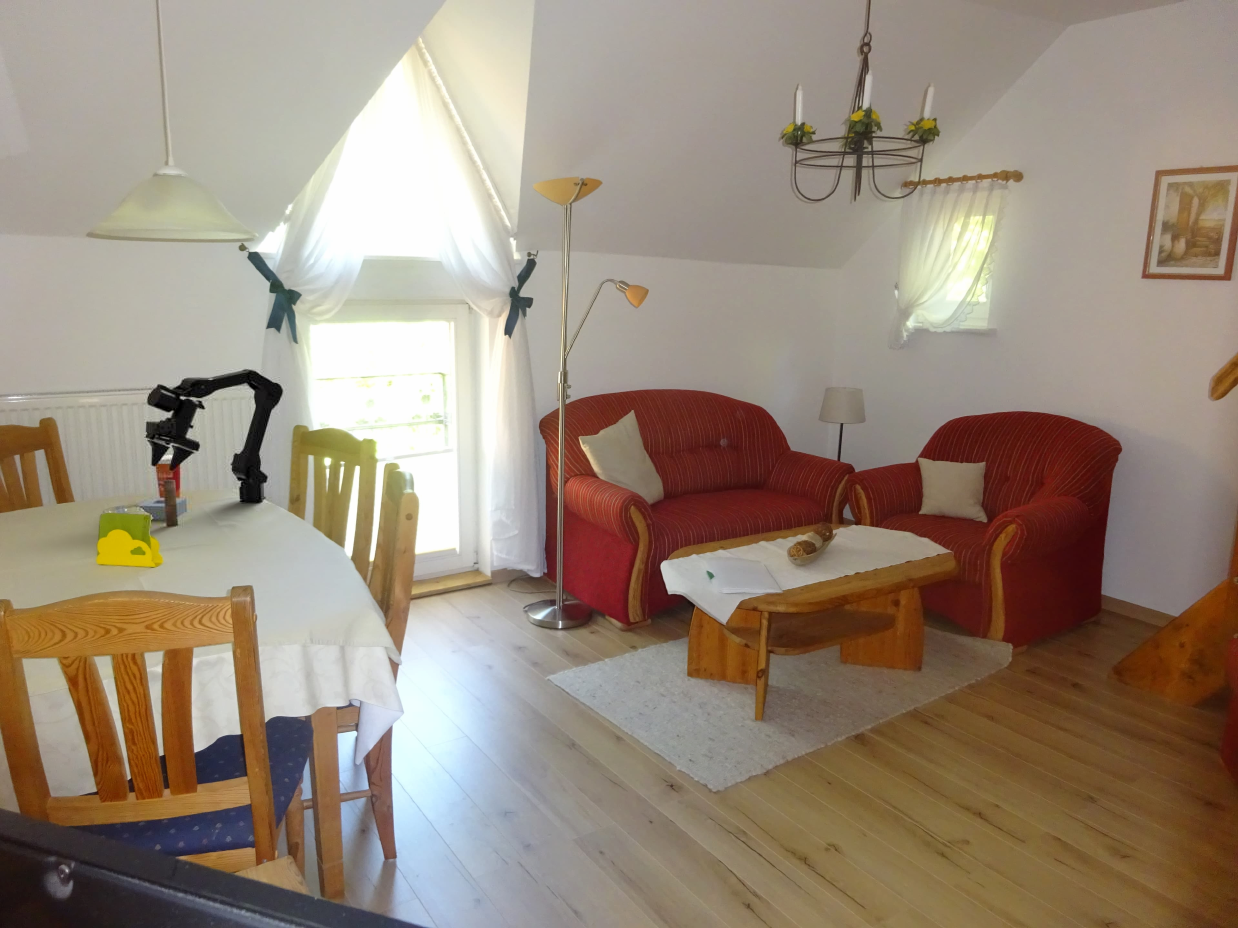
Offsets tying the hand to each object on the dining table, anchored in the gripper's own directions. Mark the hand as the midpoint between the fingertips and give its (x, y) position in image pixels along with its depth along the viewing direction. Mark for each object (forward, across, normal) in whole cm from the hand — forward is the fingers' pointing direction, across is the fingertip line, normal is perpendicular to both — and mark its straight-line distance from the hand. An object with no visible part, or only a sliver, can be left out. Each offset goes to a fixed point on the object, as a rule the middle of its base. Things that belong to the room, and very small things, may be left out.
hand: (161, 468), depth 245 cm
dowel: (+15, +8, +4) cm, 17 cm away
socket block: (+13, -4, +8) cm, 16 cm away
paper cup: (+8, -19, +18) cm, 27 cm away
